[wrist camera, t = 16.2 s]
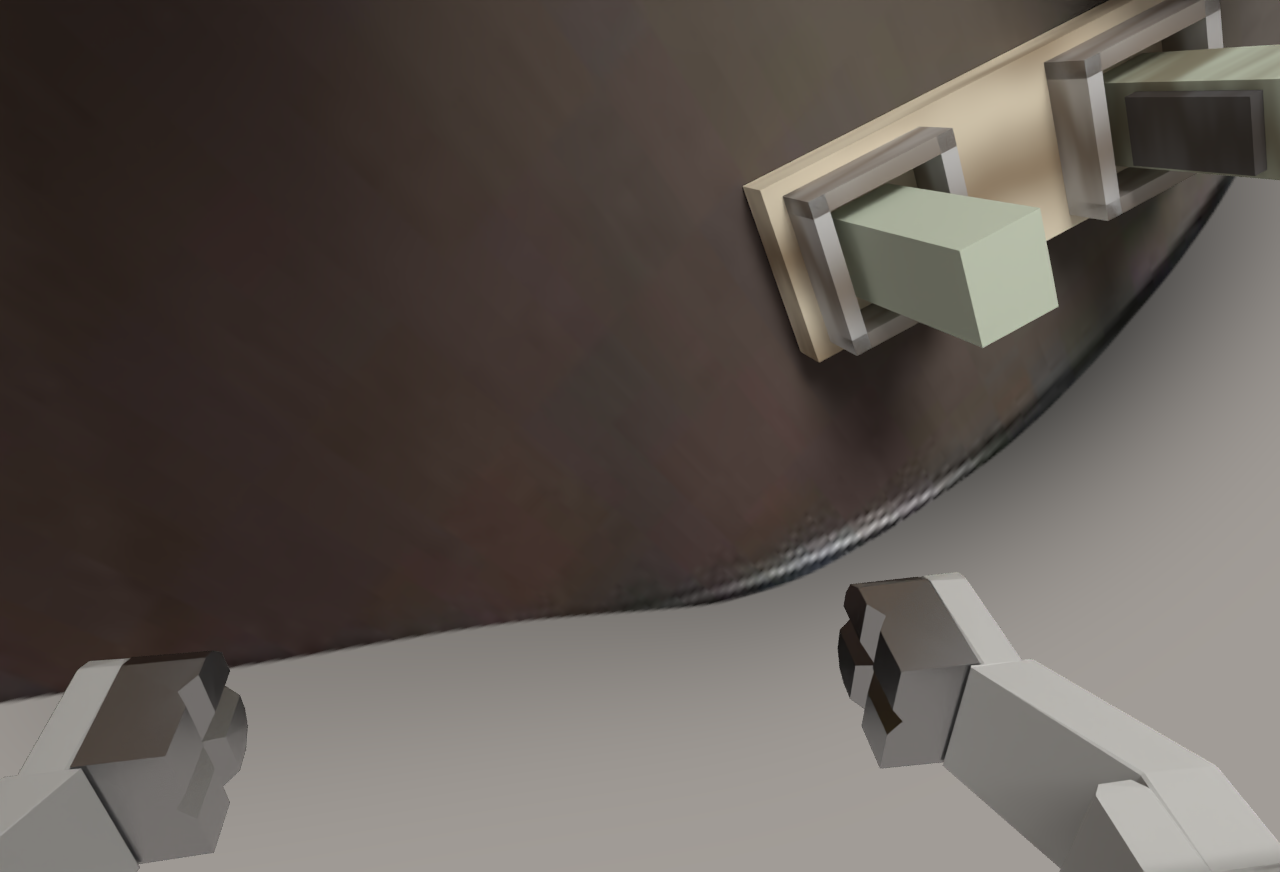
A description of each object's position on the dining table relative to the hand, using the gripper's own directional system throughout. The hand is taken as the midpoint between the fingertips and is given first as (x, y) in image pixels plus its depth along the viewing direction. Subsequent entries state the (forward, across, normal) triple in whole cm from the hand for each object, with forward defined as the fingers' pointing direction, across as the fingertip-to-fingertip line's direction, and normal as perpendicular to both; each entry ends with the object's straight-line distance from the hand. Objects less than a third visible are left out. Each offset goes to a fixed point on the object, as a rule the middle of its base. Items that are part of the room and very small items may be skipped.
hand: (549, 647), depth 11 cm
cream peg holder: (+32, -22, +3) cm, 39 cm away
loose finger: (+29, -16, +5) cm, 33 cm away
